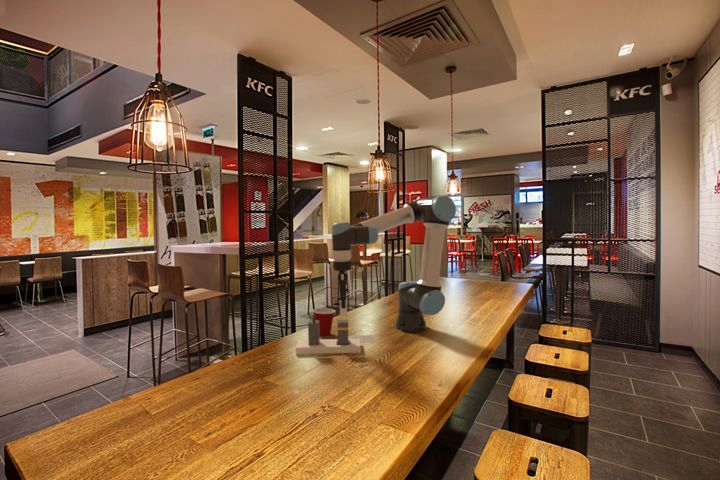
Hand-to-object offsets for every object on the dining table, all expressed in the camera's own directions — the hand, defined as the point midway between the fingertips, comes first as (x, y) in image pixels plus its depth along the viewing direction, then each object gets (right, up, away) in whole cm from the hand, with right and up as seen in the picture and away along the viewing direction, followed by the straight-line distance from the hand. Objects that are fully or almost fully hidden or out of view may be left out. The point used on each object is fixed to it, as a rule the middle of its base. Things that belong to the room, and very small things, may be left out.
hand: (343, 311), depth 150 cm
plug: (0, -16, +1) cm, 16 cm away
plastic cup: (-10, -15, +20) cm, 27 cm away
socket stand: (-6, -16, +1) cm, 17 cm away
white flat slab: (+7, -15, +13) cm, 21 cm away
